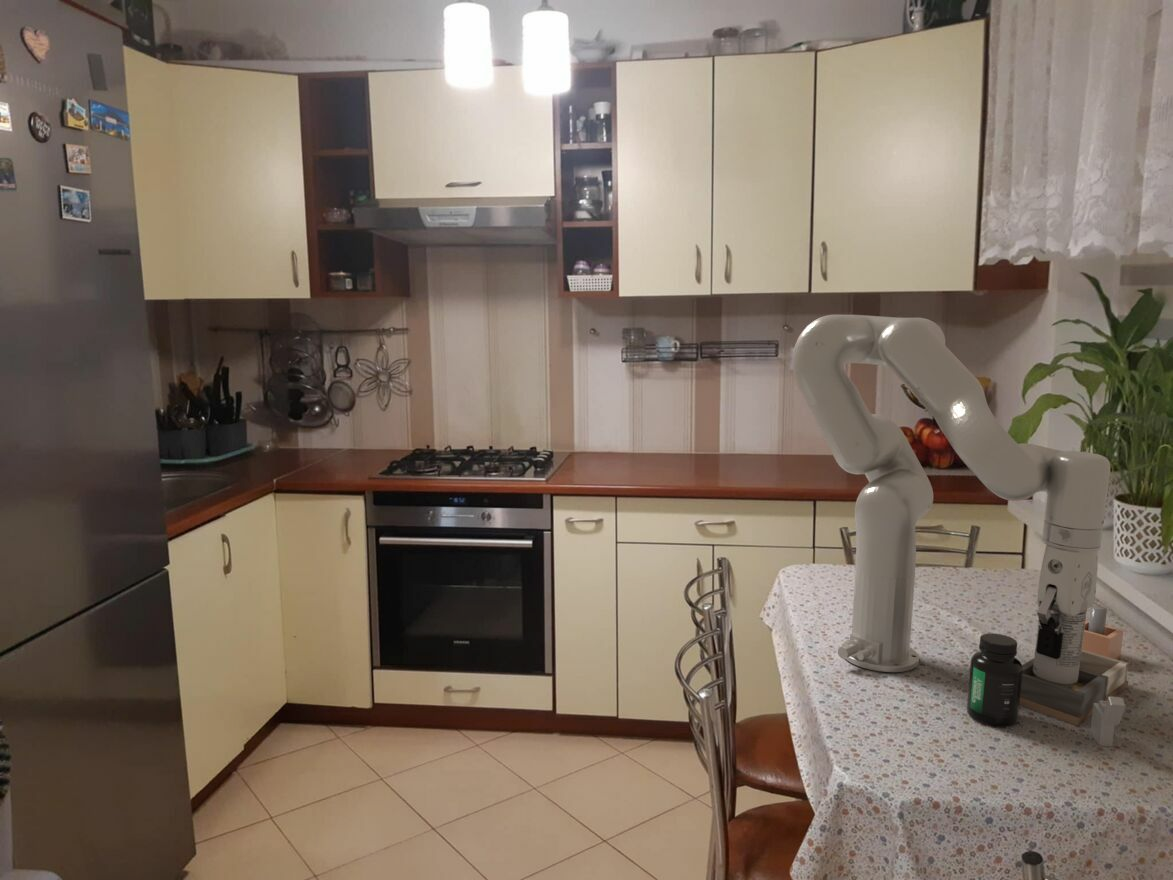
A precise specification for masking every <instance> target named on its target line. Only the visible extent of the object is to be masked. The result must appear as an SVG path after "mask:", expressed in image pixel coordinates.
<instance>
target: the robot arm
mask: <svg viewBox="0 0 1173 880" xmlns="http://www.w3.org/2000/svg"><path fill="white" fill-rule="evenodd" d="M792 351H793V352H792V358H791V359H792V360H791V364H792V365H791V367H792V374H793V376H794V380H795V383H796V385H797V388H798V390H799V391H800V393H801V395H802V397H803V399H804V401H805V402H806V405H807V406H808V408H809V411H810V413H811V414H812V416H813V418H814V420H815V423H816V424H817V427H818V428H819V430H820V432H821V434H822V436H823V439H824V440H825V442H826V444H827V446H828V447H829V450H830V452H831V454H832V456H833V458H834V460H835V462H836V463H837V465H838V466H839V467H840V468H841V469H842V470H843V471H844V472H847V473H849V474H853V475H865V477H866V479H867V481H868V483H867V484H866V485H865V486H863V488H862V489H861V491H860V492H859V494H858V496H857V498H856V502H855V506H854V521H855V522H854V523H855V524H854V525H855V535H856V542H855V543H856V544H855V546H856V548H855V567H854V568H855V573H854V587H853V588H854V589H853V590H854V591H853V604H852V621H851V622H852V624H851V633H850V634H849V639H848V640H845V641H844V642H843V643H842V644H841V647H839V648H838V649H837V655H838V657H840V659H843V660H846V661H847V662H849V663H851V664H853V665H855V666H857V667H860V668H862V669H866V670H869V671H874V672H875V671H876V672H883V673H903V672H908V671H911V670H913V669H915V668H917V667H918V665H919V660H920V656H919V654H918V653H917V651H915V649H914V648H912V647H911V638H912V637H911V636H912V635H911V634H912V625H913V624H912V622H913V608H914V597H915V596H914V595H915V582H916V581H915V580H916V566H917V565H916V563H917V545H916V544H917V541H916V526H917V525H916V524H917V523H918V522H919V521H920V520H922V519H923V518H924V517H925V516H926V515H927V514H928V513H929V512H930V510H931V508H932V507H933V503H934V491H933V490H934V489H933V486H932V484H931V481H930V480H929V478H928V476H927V473H926V472H925V470H924V468H923V467H922V465H921V462H920V461H919V459H918V457H917V455H916V453H915V451H914V450H913V448H912V445H911V444H910V443H909V440H908V439H907V437H906V434H904V432H903V430H902V429H901V428H900V426H898V424H897V423H896V422H895V421H893V420H892V419H891V418H889V417H888V416H885V415H883V414H882V415H881V414H878V413H877V414H876V413H871V411H870V410H869V408H868V407H867V404H866V403H865V401H864V400H863V398H862V395H861V393H860V390H859V389H858V387H857V386H856V385H855V384H854V382H853V381H852V379H851V378H850V377H849V375H848V374H847V373H846V370H845V365H847V364H849V365H850V364H863V365H864V364H865V365H866V364H867V365H877V366H886V367H888V368H889V369H890V370H891V371H892V373H893V374H894V375H896V377H897V378H898V379H899V380H900V381H901V382H902V383H903V385H904V386H905V387H906V388H907V389H908V390H909V391H910V392H911V394H913V396H915V399H917V400H918V401H919V403H921V405H923V407H925V409H926V410H927V411H928V413H930V414H931V416H932V417H933V418H934V420H935V422H936V424H937V425H938V427H939V429H940V431H942V432H941V433H943V434H944V437H945V438H946V439H947V441H948V442H949V444H950V446H951V447H952V449H953V450H954V451H955V453H956V454H957V455H958V456H959V458H960V460H961V461H962V462H963V463H964V464H965V465H966V466H967V468H968V469H969V470H970V471H971V472H972V473H973V474H974V475H975V477H977V479H978V480H979V481H980V482H981V483H982V484H983V485H984V486H985V487H986V488H987V489H988V490H989V491H991V493H993V494H995V495H996V496H997V497H999V498H1001V499H1004V500H1006V501H1010V502H1020V501H1024V500H1028V499H1030V498H1031V497H1033V496H1034V495H1036V493H1040V492H1042V493H1043V492H1045V493H1046V495H1047V497H1046V502H1045V503H1046V505H1045V512H1044V519H1043V520H1044V522H1043V530H1042V537H1041V542H1042V543H1043V544H1045V549H1044V552H1043V557H1042V562H1041V568H1040V573H1039V579H1038V587H1037V595H1036V605H1037V608H1038V609H1037V611H1036V615H1037V617H1038V622H1039V625H1038V624H1037V629H1038V628H1039V632H1038V640H1037V649H1036V651H1037V653H1039V654H1042V655H1045V656H1048V657H1051V658H1054V659H1059V658H1060V656H1061V648H1062V640H1063V633H1060V632H1061V629H1062V625H1063V621H1064V618H1065V614H1066V616H1067V617H1072V616H1075V615H1077V614H1079V613H1080V609H1081V604H1082V603H1083V601H1084V599H1085V600H1087V601H1088V605H1087V610H1088V609H1091V606H1094V604H1095V601H1096V592H1097V580H1098V565H1099V563H1098V562H1099V561H1098V560H1099V557H1098V555H1099V554H1098V552H1099V551H1101V545H1102V538H1103V537H1102V536H1103V530H1104V521H1105V513H1106V506H1107V499H1108V498H1107V497H1108V491H1109V485H1110V474H1111V462H1110V461H1109V459H1108V458H1107V457H1105V456H1104V455H1101V454H1099V453H1093V452H1088V451H1079V450H1078V451H1077V450H1059V449H1055V448H1049V447H1045V446H1041V445H1038V444H1033V443H1025V442H1024V443H1018V442H1016V440H1014V438H1013V437H1012V436H1011V435H1010V434H1009V433H1008V432H1007V431H1006V430H1005V428H1004V427H1003V426H1002V424H1001V423H1000V422H999V421H998V420H997V419H996V417H995V415H994V414H993V413H992V410H991V409H990V407H989V405H988V402H987V399H986V395H985V391H984V387H983V385H982V384H981V382H980V381H979V379H978V378H977V377H976V376H975V375H974V374H973V373H972V372H971V371H970V370H969V369H968V368H967V366H965V365H964V364H963V363H962V362H961V361H960V359H958V357H957V356H956V355H955V354H954V353H953V352H952V351H951V350H950V349H949V348H948V346H946V337H945V334H944V332H943V330H942V328H941V327H940V326H939V324H937V323H935V322H934V321H932V320H930V319H928V318H923V317H898V316H897V317H893V316H892V317H891V316H877V315H866V314H865V315H864V314H863V315H862V314H828V315H824V316H821V317H818V318H817V319H815V320H813V321H811V322H810V323H809V324H808V325H807V326H806V327H805V328H804V329H803V330H802V332H801V333H800V334H799V336H798V338H797V340H796V342H795V345H794V347H793V350H792ZM1053 606H1057V607H1059V610H1060V612H1058V611H1055V610H1052V607H1053ZM1051 614H1053V615H1056V616H1058V617H1057V621H1056V622H1055V620H1054V618H1052V617H1051Z"/></svg>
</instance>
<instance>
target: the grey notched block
mask: <svg viewBox="0 0 1173 880" xmlns="http://www.w3.org/2000/svg"><path fill="white" fill-rule="evenodd" d="M1125 709H1126V703H1125V701H1124V698H1123V697H1120V696H1116V697H1112V696H1110V697H1108V700H1107V701H1099V703H1093V711H1092V715H1091V721H1090V730H1089V731H1090V734H1092V735H1091V736H1092V737H1093V738H1094V740H1095V742H1096V743H1097V745H1099V746H1103V747H1110V748H1113V745H1114V738H1115V737H1114V735H1115V727H1116V726H1120V723H1121V721H1122V717H1123V715H1124V713H1125Z"/></svg>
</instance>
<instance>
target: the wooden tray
mask: <svg viewBox="0 0 1173 880" xmlns="http://www.w3.org/2000/svg"><path fill="white" fill-rule="evenodd" d="M1033 665H1034V657H1033V658H1032V659H1030V660H1029V661H1027V662H1025V663H1024V664H1022V667H1023V673H1022V684H1021V694H1020V705H1019V707H1024V708H1027V709H1029V710H1032V711H1035V712H1037V713H1040V714H1043V715H1046V716H1049V717H1051V718H1055V719H1057V720H1059V721H1063V722H1066V723H1069V724H1071V725H1074V726H1079V725H1080V724H1082V723H1083V722H1084V721H1085V720H1087V719H1088V718H1089V717H1092V711H1093V703H1099V701H1107V700H1108V697H1110V696H1112V697H1118V695H1120V694H1121V693H1122V692H1124V691H1125V690H1127V689H1128V687H1129V681H1128V672H1129V662H1127V661H1123V660H1120V659H1118V660H1117V659H1114V658H1110V657H1107V656H1103V655H1100V654H1096V653H1093V652H1089V651H1086V650H1083V649H1082V652H1081V659H1080V667H1079V675H1078V681H1077V682H1078V683H1082V684H1085V686H1083V687H1082V688H1080V689H1079V690H1078V691H1076V690H1073V689H1070V688H1066V687H1063V686H1060V685H1057V684H1054V683H1051V682H1048V681H1045V680H1042V679H1039V678H1036V675H1035V674H1034V673H1033Z"/></svg>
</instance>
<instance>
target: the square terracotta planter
mask: <svg viewBox="0 0 1173 880" xmlns="http://www.w3.org/2000/svg"><path fill="white" fill-rule="evenodd" d="M1107 614H1108V609H1107V608H1106V607H1105V606H1101V605H1092V606H1091V607H1090V608H1089V619H1088V620H1086V621H1085V628H1084V636H1083V644H1082V649H1083V650H1086V651H1089V652H1093V653H1096V654H1100V655H1103V656H1107V657H1110V658H1114V659H1117V660H1120V659H1121V655H1122V648H1123V647H1122V646H1123V637H1124V629H1121V628H1117V627H1114V626H1113V627H1112V626H1109V625H1106V621H1107Z"/></svg>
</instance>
